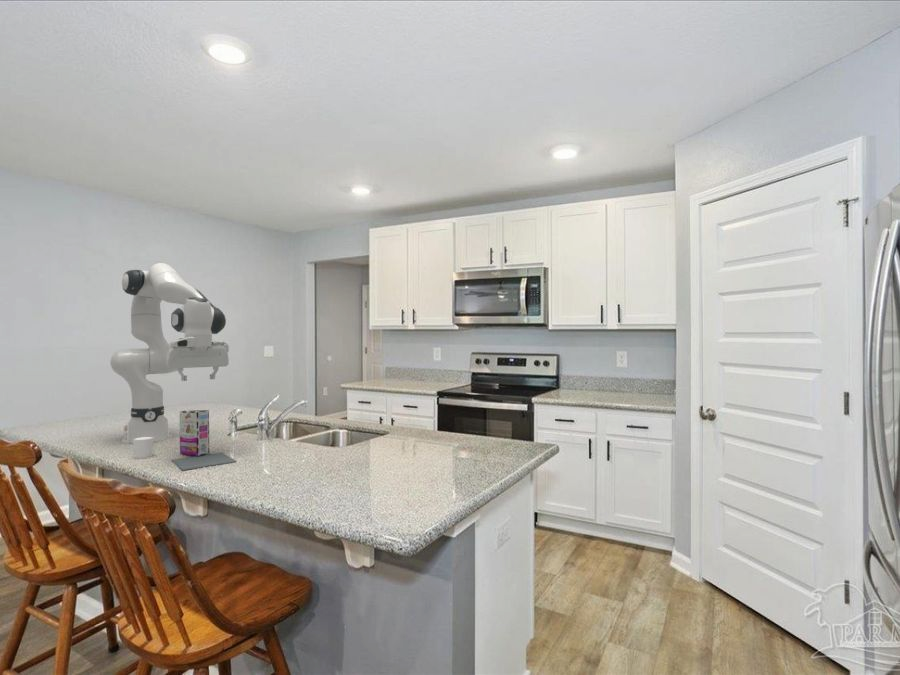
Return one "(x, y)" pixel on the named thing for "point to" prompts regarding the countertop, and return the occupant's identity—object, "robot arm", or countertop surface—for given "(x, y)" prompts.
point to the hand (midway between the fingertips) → (198, 379)
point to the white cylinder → (143, 447)
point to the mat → (202, 461)
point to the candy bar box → (194, 432)
